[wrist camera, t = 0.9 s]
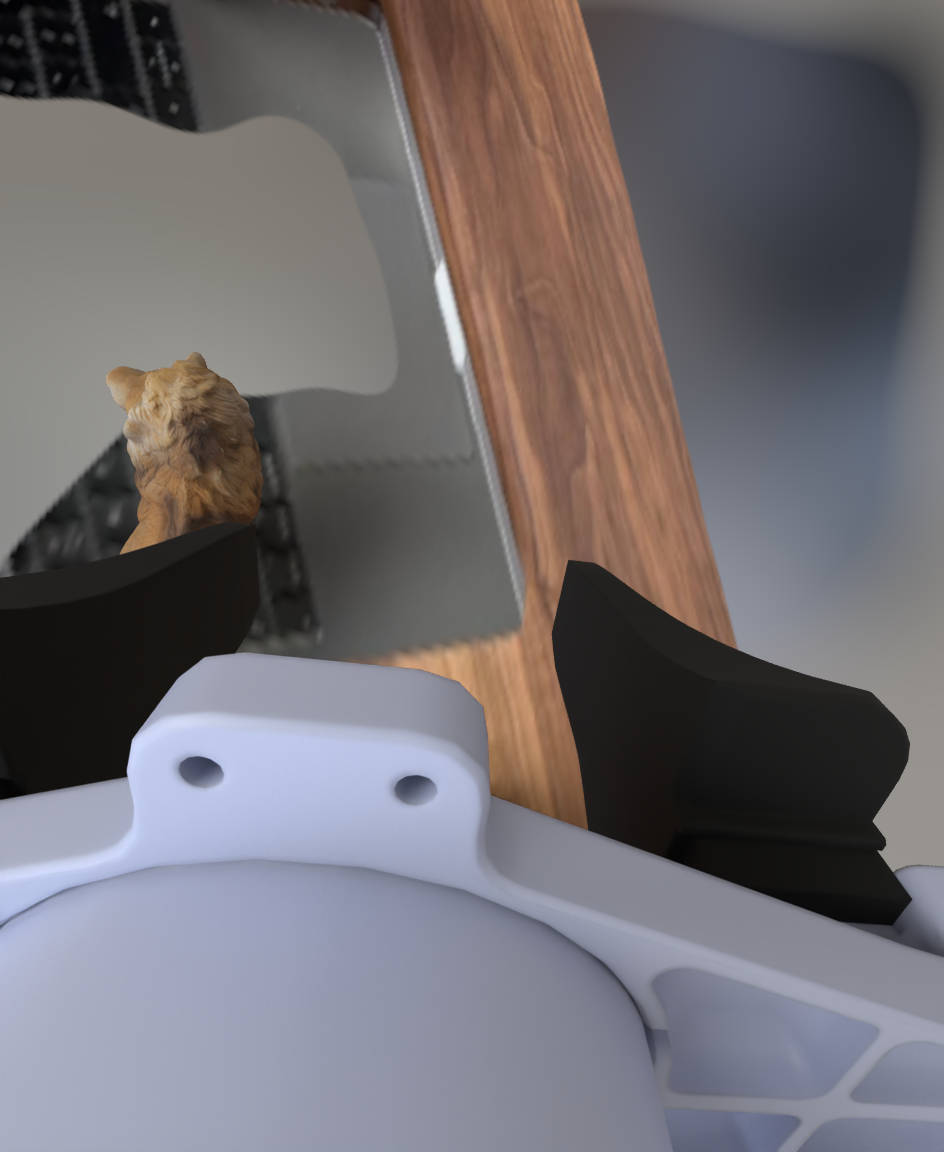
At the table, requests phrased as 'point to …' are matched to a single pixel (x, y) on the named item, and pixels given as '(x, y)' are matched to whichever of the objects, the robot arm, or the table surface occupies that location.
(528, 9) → the table surface
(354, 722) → the robot arm
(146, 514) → the lion figurine
